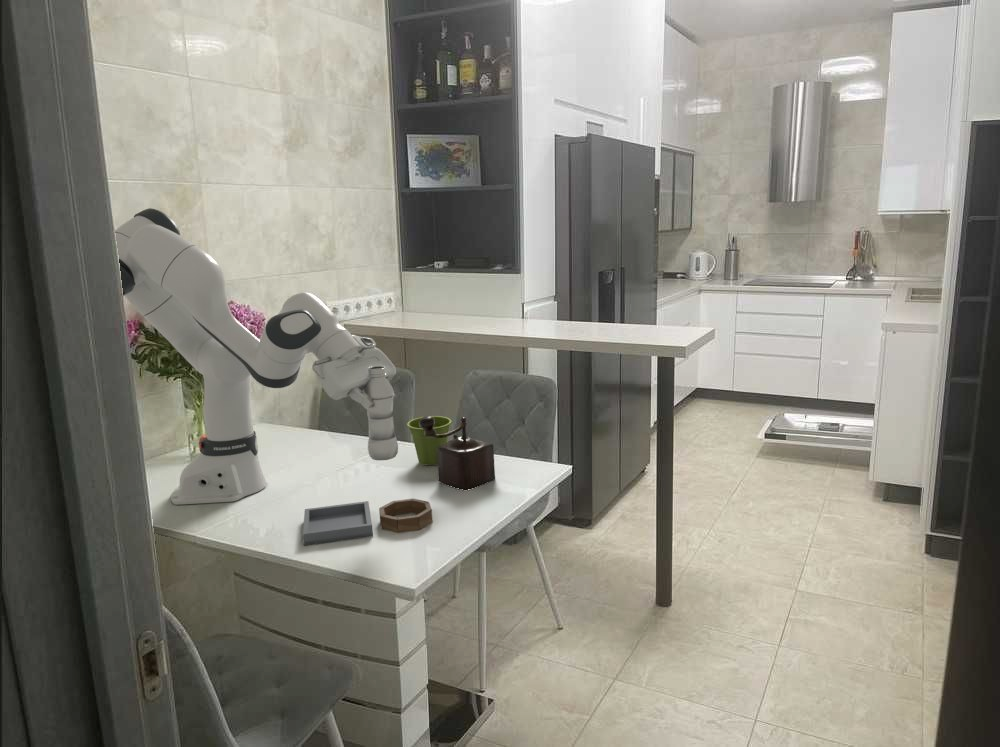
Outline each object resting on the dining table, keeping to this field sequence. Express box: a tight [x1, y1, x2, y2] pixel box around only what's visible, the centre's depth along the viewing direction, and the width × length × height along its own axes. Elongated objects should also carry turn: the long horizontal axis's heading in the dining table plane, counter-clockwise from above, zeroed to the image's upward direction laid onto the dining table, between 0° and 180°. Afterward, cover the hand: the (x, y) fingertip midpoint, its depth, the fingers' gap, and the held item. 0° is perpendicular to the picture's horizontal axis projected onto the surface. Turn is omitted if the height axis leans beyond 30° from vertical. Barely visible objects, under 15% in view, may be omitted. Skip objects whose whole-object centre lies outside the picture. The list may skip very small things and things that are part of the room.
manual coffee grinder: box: [419, 415, 496, 491], centre depth 182 cm, size 16×11×18 cm
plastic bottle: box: [362, 366, 399, 461], centre depth 158 cm, size 6×7×20 cm
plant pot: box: [406, 415, 452, 466], centre depth 200 cm, size 12×12×11 cm
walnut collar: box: [378, 498, 434, 534], centre depth 162 cm, size 11×11×3 cm
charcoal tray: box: [302, 500, 374, 547], centre depth 160 cm, size 14×14×3 cm
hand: (381, 402), depth 157 cm, fingers closed on plastic bottle, 6 cm apart
